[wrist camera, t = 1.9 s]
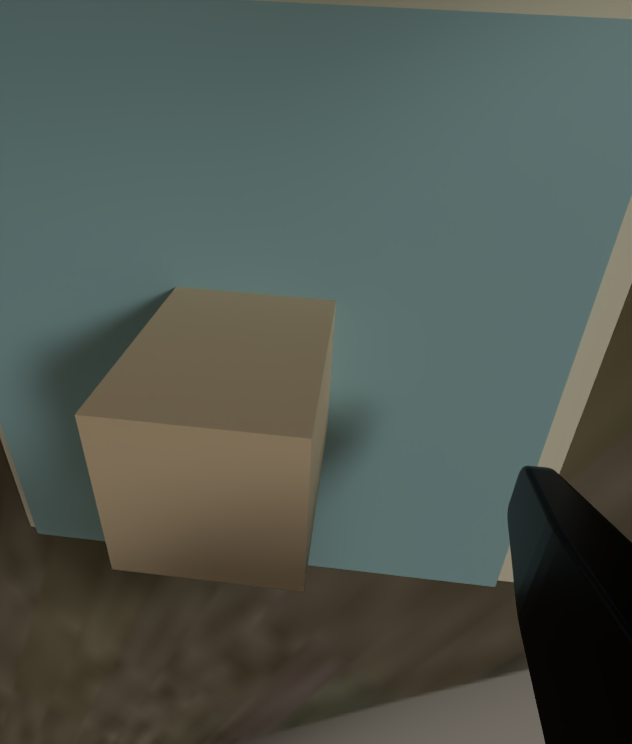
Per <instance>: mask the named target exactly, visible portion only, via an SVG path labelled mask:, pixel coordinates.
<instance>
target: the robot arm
mask: <svg viewBox="0 0 632 744" xmlns="http://www.w3.org/2000/svg"><path fill="white" fill-rule="evenodd" d="M507 521H508V531H509V541H510V550H511V560H512V569H513V579H514V589H515V598H516V607H517V615H518V621H519V626H520V631H521V636H522V641H523V645H524V650H525V654H526V658H527V663H528V667H529V672H530V676H531V681H532V685H533V690H534V694H535V699H536V703H537V708H538V712H539V717H540V721H541V726H542V730H543V735H544V739H545V744H632V543H631V542H630V541H629V540H628V539H627V538H626V537H625V536H624V535H623V534H622V533H621V532H620V531H619V530H618V529H617V528H616V527H614V526H613V525H612V524H611V523H610V522H609V521H608V520H607V519H606V518H605V517H604V516H603V515H602V514H601V513H600V512H599V511H597V510H596V509H595V508H594V507H593V506H592V505H591V504H590V503H589V502H588V501H587V500H586V499H585V498H584V497H583V496H582V495H580V494H579V493H578V492H577V491H576V490H575V489H574V488H573V487H572V486H571V485H570V484H569V483H568V482H567V481H566V480H565V479H563V478H562V477H561V476H560V475H559V474H558V473H557V472H556V471H555V470H553V469H551V468H548V467H539V466H529V465H527V466H524V467H522V469H521V470H520V472H519V474H518V477H517V480H516V483H515V486H514V490H513V493H512V496H511V499H510V502H509V505H508V512H507Z"/></svg>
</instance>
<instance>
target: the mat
mask: <svg viewBox="0 0 632 744" xmlns="http://www.w3.org/2000/svg"><path fill="white" fill-rule="evenodd" d="M252 1H272V2H292V3H313V4H333V5H353V6H373V7H394V8H414V9H434V10H455V11H475V12H495V13H516V14H536V15H556V16H576V17H597V18H617V19H632V0H252ZM631 283H632V196H631V198H630V201H629V204H628V207H627V210H626V213H625V216H624V219H623V221H622V224H621V227H620V230H619V233H618V236H617V239H616V242H615V244H614V247H613V250H612V253H611V256H610V259H609V262H608V265H607V267H606V270H605V273H604V276H603V279H602V282H601V285H600V287H599V290H598V293H597V296H596V299H595V302H594V305H593V308H592V310H591V313H590V316H589V319H588V322H587V325H586V328H585V331H584V333H583V336H582V339H581V342H580V345H579V348H578V351H577V354H576V356H575V359H574V362H573V365H572V368H571V371H570V374H569V376H568V379H567V382H566V385H565V388H564V391H563V394H562V397H561V399H560V402H559V405H558V408H557V411H556V414H555V417H554V420H553V422H552V425H551V428H550V431H549V434H548V437H547V440H546V443H545V445H544V448H543V451H542V454H541V457H540V460H539V463H538V465H537V466H539V467H548V468H551V469H553V470H555V471H556V472H557V473H558V474H559V473H560V470H561V468H562V465H563V462H564V460H565V457H566V455H567V452H568V449H569V447H570V444H571V441H572V439H573V436H574V433H575V431H576V428H577V426H578V423H579V420H580V418H581V415H582V412H583V410H584V407H585V405H586V402H587V399H588V397H589V394H590V391H591V389H592V386H593V383H594V381H595V378H596V376H597V373H598V370H599V368H600V365H601V362H602V360H603V357H604V354H605V352H606V349H607V347H608V344H609V341H610V339H611V336H612V333H613V331H614V328H615V325H616V323H617V320H618V318H619V315H620V312H621V310H622V307H623V304H624V302H625V299H626V296H627V294H628V291H629V289H630V286H631ZM0 439H1V442H2V445H3V447H4V450H5V453H6V456H7V459H8V462H9V465H10V468H11V471H12V473H13V476H14V479H15V482H16V485H17V488H18V491H19V494H20V497H21V500H22V502H23V505H24V508H25V511H26V514H27V517H28V520H29V523H30V526H31V527H35V524H34V521H33V518H32V515H31V513H30V510H29V507H28V504H27V501H26V498H25V495H24V492H23V489H22V486H21V483H20V480H19V477H18V474H17V471H16V468H15V465H14V462H13V459H12V456H11V453H10V450H9V447H8V444H7V442H6V439H5V436H4V433H3V430H2V427H1V424H0ZM498 580H500V581H509V582H514V579H513V569H512V560H511V550H510V546H509V549H508V552H507V554H506V557H505V560H504V563H503V566H502V569H501V572H500V575H499V577H498Z"/></svg>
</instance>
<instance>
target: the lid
mask: <svg viewBox="0 0 632 744" xmlns="http://www.w3.org/2000/svg"><path fill="white" fill-rule="evenodd" d="M631 196H632V19H617V18H597V17H576V16H556V15H536V14H516V13H495V12H475V11H455V10H434V9H414V8H394V7H373V6H353V5H333V4H313V3H292V2H272V1H252V0H0V424H1V427H2V430H3V433H4V436H5V439H6V442H7V444H8V447H9V450H10V453H11V456H12V459H13V462H14V465H15V468H16V471H17V474H18V477H19V480H20V483H21V486H22V489H23V492H24V495H25V498H26V501H27V504H28V507H29V510H30V513H31V515H32V518H33V521H34V524H35V527H36V530H37V533H38V534H46V535H55V536H63V537H72V538H80V539H89V540H97V541H105V542H106V546H107V550H108V554H109V558H110V562H111V566H112V569H114V570H123V571H131V572H139V573H148V574H156V575H164V576H173V577H181V578H189V579H198V580H206V581H214V582H223V583H231V584H239V585H248V586H256V587H264V588H273V589H281V590H289V591H298V592H304V588H305V581H306V574H307V567H308V565H312V566H320V567H329V568H337V569H346V570H355V571H363V572H372V573H380V574H389V575H397V576H406V577H415V578H423V579H432V580H440V581H449V582H457V583H466V584H475V585H483V586H492V587H495V586H496V583H497V580H498V577H499V575H500V572H501V569H502V566H503V563H504V560H505V557H506V554H507V552H508V549H509V546H510V541H509V531H508V521H507V512H508V505H509V502H510V499H511V496H512V493H513V490H514V486H515V483H516V480H517V477H518V474H519V472H520V470H521V469H522V467H524V466H527V465H529V466H537V465H538V463H539V460H540V457H541V454H542V451H543V448H544V445H545V443H546V440H547V437H548V434H549V431H550V428H551V425H552V422H553V420H554V417H555V414H556V411H557V408H558V405H559V402H560V399H561V397H562V394H563V391H564V388H565V385H566V382H567V379H568V376H569V374H570V371H571V368H572V365H573V362H574V359H575V356H576V354H577V351H578V348H579V345H580V342H581V339H582V336H583V333H584V331H585V328H586V325H587V322H588V319H589V316H590V313H591V310H592V308H593V305H594V302H595V299H596V296H597V293H598V290H599V287H600V285H601V282H602V279H603V276H604V273H605V270H606V267H607V265H608V262H609V259H610V256H611V253H612V250H613V247H614V244H615V242H616V239H617V236H618V233H619V230H620V227H621V224H622V221H623V219H624V216H625V213H626V210H627V207H628V204H629V201H630V198H631Z"/></svg>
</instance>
